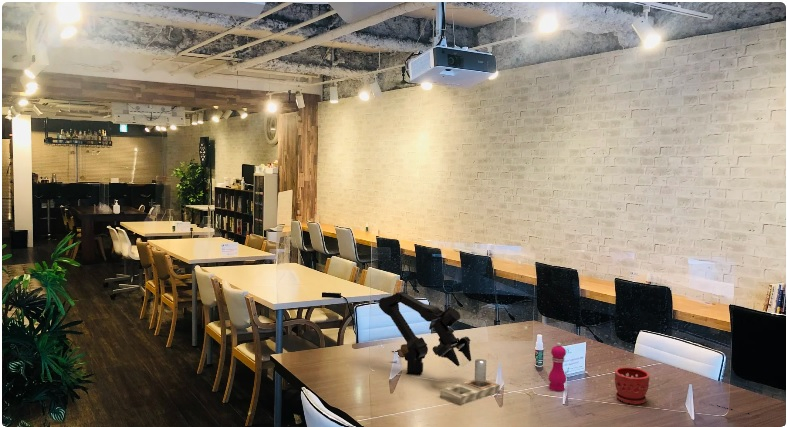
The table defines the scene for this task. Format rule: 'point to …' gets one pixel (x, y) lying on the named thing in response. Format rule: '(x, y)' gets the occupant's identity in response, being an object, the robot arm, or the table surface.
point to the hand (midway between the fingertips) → (464, 363)
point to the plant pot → (631, 385)
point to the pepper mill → (557, 368)
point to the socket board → (468, 392)
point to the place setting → (403, 350)
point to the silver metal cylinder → (480, 373)
